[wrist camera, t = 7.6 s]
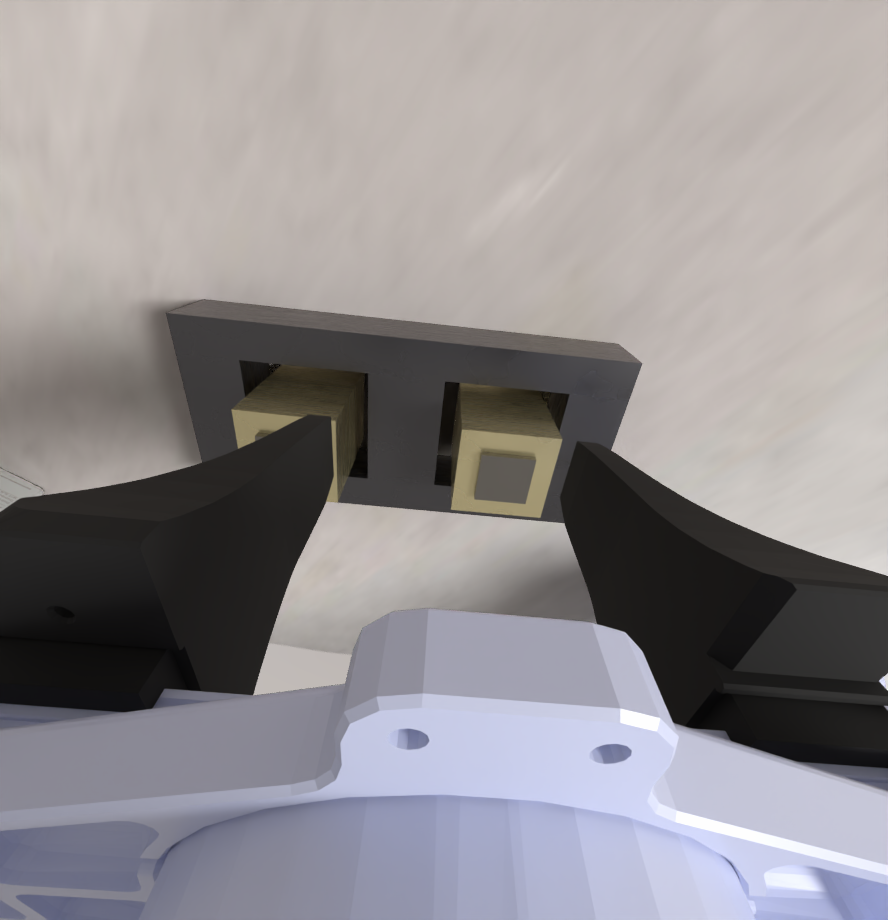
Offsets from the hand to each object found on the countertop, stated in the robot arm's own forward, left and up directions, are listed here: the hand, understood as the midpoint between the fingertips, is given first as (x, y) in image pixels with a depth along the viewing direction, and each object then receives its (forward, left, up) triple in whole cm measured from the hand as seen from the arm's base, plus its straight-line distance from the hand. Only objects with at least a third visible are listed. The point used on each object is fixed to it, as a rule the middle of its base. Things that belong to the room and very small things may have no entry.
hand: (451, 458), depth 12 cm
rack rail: (+2, +3, -10) cm, 11 cm away
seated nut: (-2, +3, -10) cm, 11 cm away
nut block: (+7, +3, -10) cm, 12 cm away
